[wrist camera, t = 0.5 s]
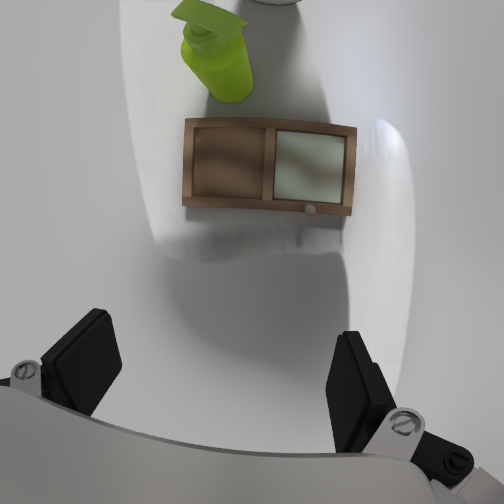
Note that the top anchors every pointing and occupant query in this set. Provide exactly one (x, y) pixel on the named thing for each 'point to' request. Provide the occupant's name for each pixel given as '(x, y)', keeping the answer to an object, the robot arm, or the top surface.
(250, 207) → the wooden divided tray
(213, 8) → the soap dispenser
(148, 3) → the top surface
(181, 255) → the top surface
